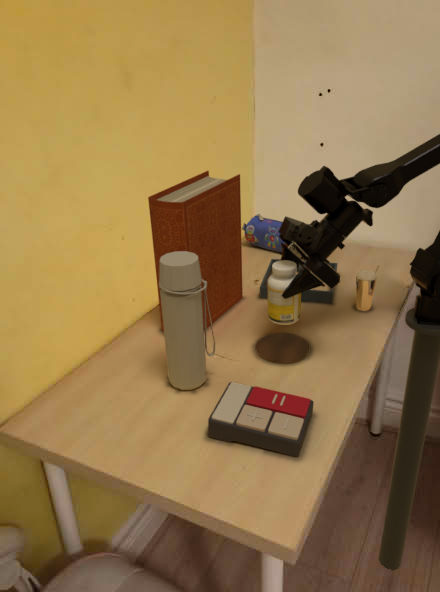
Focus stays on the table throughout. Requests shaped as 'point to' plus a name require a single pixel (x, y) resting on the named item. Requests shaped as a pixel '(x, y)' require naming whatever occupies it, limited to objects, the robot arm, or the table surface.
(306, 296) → the dark grey square frame
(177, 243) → the book
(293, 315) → the pill bottle
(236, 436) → the button control box
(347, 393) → the table surface
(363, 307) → the milkshake
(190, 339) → the water bottle
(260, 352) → the coaster
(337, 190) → the robot arm
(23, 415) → the table surface
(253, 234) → the pencil case
